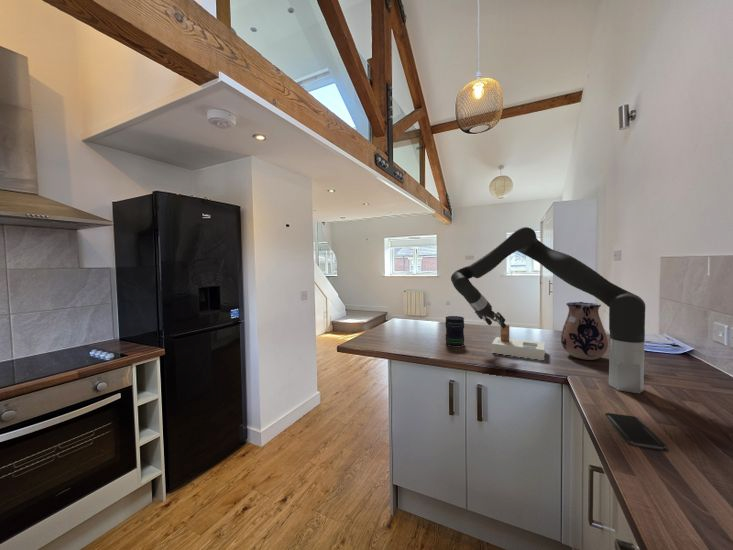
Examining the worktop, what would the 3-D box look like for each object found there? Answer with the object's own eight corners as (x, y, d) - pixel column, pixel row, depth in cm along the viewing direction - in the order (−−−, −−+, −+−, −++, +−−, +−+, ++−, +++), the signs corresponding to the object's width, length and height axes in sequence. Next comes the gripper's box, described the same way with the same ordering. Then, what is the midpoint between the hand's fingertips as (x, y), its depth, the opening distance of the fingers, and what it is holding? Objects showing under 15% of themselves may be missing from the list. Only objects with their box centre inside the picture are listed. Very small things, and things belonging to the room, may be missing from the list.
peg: (508, 342, 145) (508, 326, 145) (500, 341, 147) (499, 325, 147) (509, 340, 148) (509, 324, 148) (501, 339, 151) (501, 324, 150)
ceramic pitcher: (567, 361, 132) (568, 306, 130) (554, 348, 152) (554, 299, 150) (615, 365, 126) (616, 307, 125) (595, 350, 146) (595, 300, 145)
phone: (628, 442, 73) (603, 412, 87) (628, 446, 73) (603, 416, 87) (669, 448, 70) (637, 416, 84) (669, 453, 70) (637, 420, 84)
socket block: (544, 360, 133) (544, 349, 133) (491, 353, 145) (491, 343, 144) (544, 352, 145) (544, 342, 145) (496, 346, 157) (496, 336, 156)
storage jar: (466, 343, 163) (466, 316, 162) (461, 348, 154) (461, 320, 154) (448, 341, 168) (448, 315, 167) (443, 345, 160) (442, 318, 159)
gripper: (495, 299, 135) (513, 322, 140) (473, 296, 148) (490, 317, 153) (487, 312, 133) (505, 334, 138) (464, 308, 146) (482, 328, 151)
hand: (497, 325), depth 145 cm, fingers open, 8 cm apart
